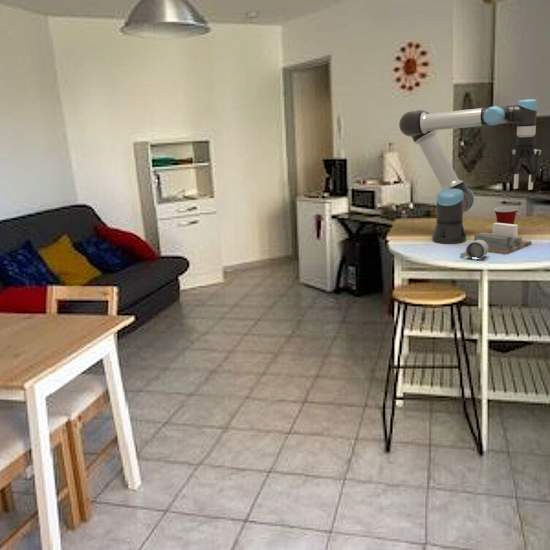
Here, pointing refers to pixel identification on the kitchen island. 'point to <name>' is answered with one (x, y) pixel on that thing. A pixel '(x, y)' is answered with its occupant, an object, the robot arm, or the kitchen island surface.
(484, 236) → the housing
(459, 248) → the kitchen island surface
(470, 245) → the ceramic mug
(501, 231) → the cream rectangular block
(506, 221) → the plastic cup
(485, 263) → the kitchen island surface
